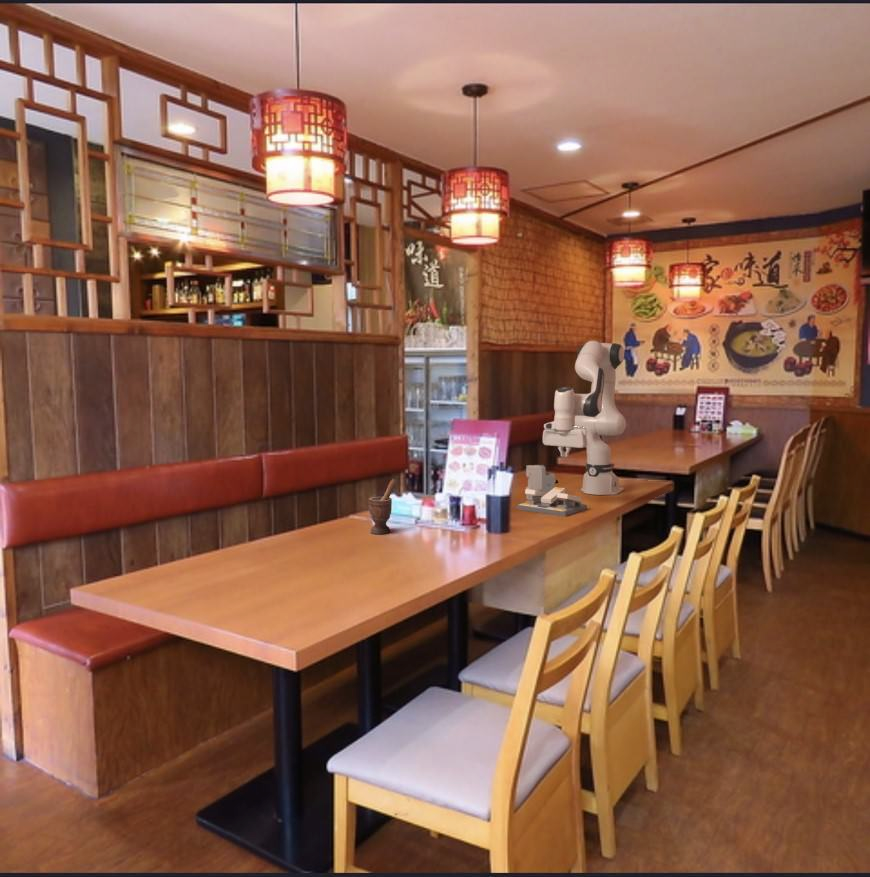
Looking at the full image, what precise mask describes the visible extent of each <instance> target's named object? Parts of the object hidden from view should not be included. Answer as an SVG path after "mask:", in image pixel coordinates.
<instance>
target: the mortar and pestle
mask: <svg viewBox="0 0 870 877" xmlns="http://www.w3.org/2000/svg"><path fill="white" fill-rule="evenodd" d="M398 483H399V481H398V480H396V478H395V479H394V478H392V479H391V480H390V481H389V484H388V485H387V488H386V491H385V492H384V495H383V496H372V497H369V498H368V505H369V506H368V510H369V513H370V519H371V520H372V521H373V523H374V525H373V526H371V528H370V534H375V535H385V534H389V533H390V532H391V528H390V527H389V526H388V524H387V522H388V521H389V519H390V518H391V514H392V506H393V505H392V500H393V499H392V498H391V495H392V494H393V491H394V490H395V489H396V488H397V486H398Z"/></svg>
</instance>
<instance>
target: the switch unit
mask: <svg viewBox="0 0 870 877" xmlns="http://www.w3.org/2000/svg"><path fill="white" fill-rule="evenodd" d="M516 510H518V511H519V510H520V511H526V512H534V513H539V514H545V515H546V514H548V515H555V516H560V517H568V516H570V515H575V514H577V513H580V512H583V511H586V510H588V504H586V503H585V504H583V503H582V501H581V502H576V501H571V500H566V499H562V498H558V499H557V500H555V501H554V502H553V503H552V504H550V503H542V502H541V496H532V500H525V501H524V502H522V503H518V504H516Z"/></svg>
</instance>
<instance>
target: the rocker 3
mask: <svg viewBox="0 0 870 877" xmlns="http://www.w3.org/2000/svg"><path fill="white" fill-rule="evenodd" d="M557 498H558V499H562V500H571V501H576V502H581V503H582V497H581V496H578V495H574V494H570V493H557Z"/></svg>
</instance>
